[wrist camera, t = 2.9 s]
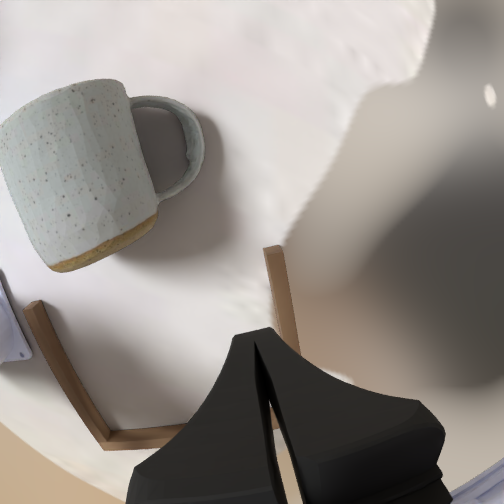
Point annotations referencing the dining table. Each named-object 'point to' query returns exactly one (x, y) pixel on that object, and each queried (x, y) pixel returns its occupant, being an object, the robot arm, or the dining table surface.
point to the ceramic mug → (87, 170)
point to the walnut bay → (155, 435)
